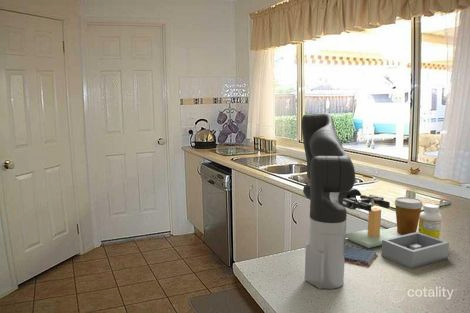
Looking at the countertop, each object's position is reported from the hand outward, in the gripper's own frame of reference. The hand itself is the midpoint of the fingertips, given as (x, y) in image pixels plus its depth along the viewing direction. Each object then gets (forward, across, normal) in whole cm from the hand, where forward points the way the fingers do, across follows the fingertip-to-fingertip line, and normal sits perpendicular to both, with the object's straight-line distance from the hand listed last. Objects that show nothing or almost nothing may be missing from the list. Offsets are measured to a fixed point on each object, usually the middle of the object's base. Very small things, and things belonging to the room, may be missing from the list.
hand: (380, 206), depth 130 cm
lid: (-2, 0, +13) cm, 13 cm away
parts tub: (+14, 0, +13) cm, 19 cm away
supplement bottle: (+8, +15, +13) cm, 21 cm away
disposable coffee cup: (-3, +18, +12) cm, 22 cm away
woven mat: (+6, -16, +13) cm, 22 cm away
